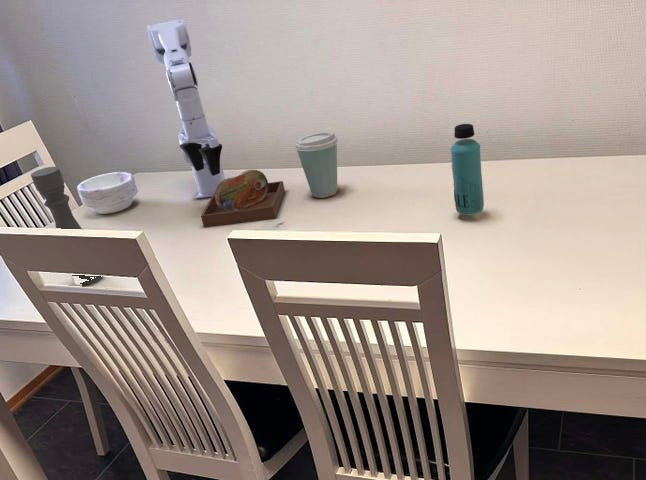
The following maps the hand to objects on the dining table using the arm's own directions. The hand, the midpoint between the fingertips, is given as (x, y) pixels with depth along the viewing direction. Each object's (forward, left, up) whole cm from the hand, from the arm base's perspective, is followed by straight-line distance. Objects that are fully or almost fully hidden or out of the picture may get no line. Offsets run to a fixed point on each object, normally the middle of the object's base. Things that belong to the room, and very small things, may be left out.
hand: (207, 172), depth 177 cm
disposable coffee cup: (-3, +28, -11) cm, 30 cm away
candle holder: (+33, -23, -11) cm, 42 cm away
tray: (+1, +8, -10) cm, 13 cm away
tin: (+1, +7, -10) cm, 13 cm away
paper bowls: (-13, -33, -11) cm, 37 cm away
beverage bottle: (+23, +63, -11) cm, 68 cm away
